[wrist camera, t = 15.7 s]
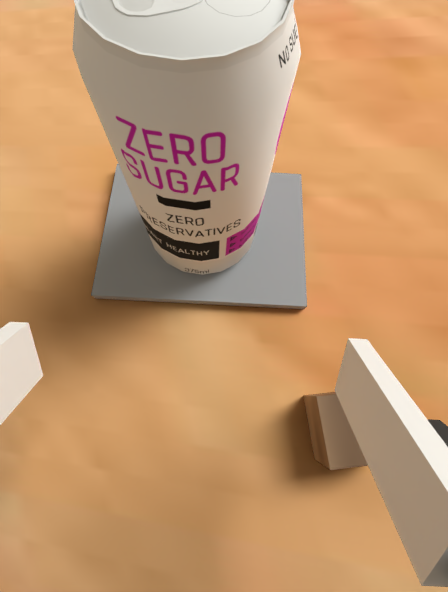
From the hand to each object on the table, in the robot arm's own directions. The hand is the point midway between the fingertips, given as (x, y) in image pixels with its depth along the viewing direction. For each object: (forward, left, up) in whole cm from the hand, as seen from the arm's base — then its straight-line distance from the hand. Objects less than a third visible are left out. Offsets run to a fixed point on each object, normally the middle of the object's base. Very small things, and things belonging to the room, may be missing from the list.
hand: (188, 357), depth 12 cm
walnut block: (-10, +3, -9) cm, 14 cm away
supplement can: (0, -11, -8) cm, 14 cm away
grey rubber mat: (0, -11, -9) cm, 14 cm away
